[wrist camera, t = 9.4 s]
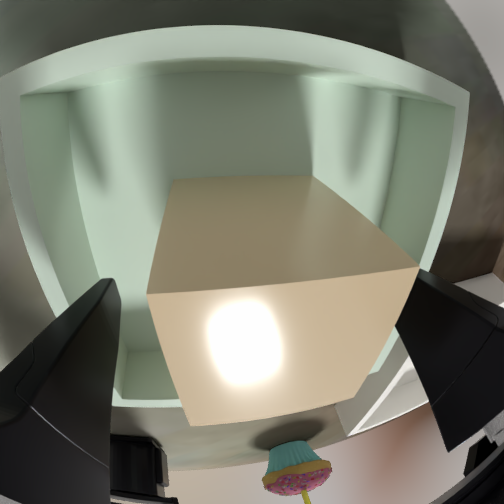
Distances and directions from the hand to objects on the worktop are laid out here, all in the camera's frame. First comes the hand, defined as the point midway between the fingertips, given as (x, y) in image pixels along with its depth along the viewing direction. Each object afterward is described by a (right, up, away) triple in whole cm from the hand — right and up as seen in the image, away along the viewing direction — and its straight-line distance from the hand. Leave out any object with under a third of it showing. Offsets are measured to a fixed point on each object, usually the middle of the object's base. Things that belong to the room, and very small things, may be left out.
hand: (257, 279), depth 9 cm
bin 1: (-1, +2, +3) cm, 3 cm away
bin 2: (+15, -8, +12) cm, 20 cm away
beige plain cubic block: (0, +1, +2) cm, 3 cm away
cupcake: (+4, -23, +19) cm, 31 cm away
